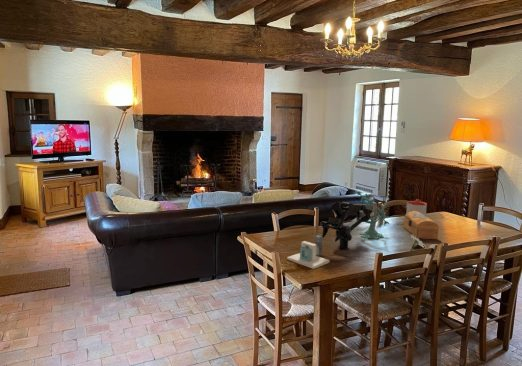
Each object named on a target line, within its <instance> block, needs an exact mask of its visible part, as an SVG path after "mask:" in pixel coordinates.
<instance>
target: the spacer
mask: <svg viewBox="0 0 522 366" xmlns="http://www.w3.org/2000/svg"><path fill="white" fill-rule="evenodd" d="M304 251H306V252H307V257H306V256H304ZM311 252H312V249H309V248H306V247H300V249H299V253H300V259H303V260H306V261H311Z"/></svg>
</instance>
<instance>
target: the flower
mask: <svg viewBox="0 0 522 366" xmlns="http://www.w3.org/2000/svg"><path fill="white" fill-rule="evenodd" d="M409 234H410V237H411V239H412V240H413V241H414V243H413V244H412V246H411V248H412V247H414V246H415V245H419V246H420V247H422V248H424V246H425V244H424V243H423V241H422V240H420V239H419V238H416V236H415V237H414V235H413V234H411V233H409ZM423 245H424V246H423ZM424 249H425V248H424ZM410 251H411V252H412V250H411V249H410V250H409V252H410Z"/></svg>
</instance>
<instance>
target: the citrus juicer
mask: <svg viewBox="0 0 522 366" xmlns="http://www.w3.org/2000/svg"><path fill="white" fill-rule="evenodd" d="M427 205H428V203H427V202H424V201H420V200H419V199H415V200H410V202H408V201H407V202H406V205H405V208H406V212H405V213H406V214H407V213H409V212H411V211H417V212H420V213H422V214H423V215H425V216H427V207H428V206H427ZM406 214H405V215H406Z"/></svg>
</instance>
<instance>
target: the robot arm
mask: <svg viewBox="0 0 522 366" xmlns="http://www.w3.org/2000/svg"><path fill="white" fill-rule="evenodd" d="M365 205H366V204H365ZM365 205H364V204H363V203H362V204H360V203H351V202H346V201H341V202H340V201H336V202H334V203H333V204H331V207H330V209H331V211H332V212H333V214H335V216H334V217H332V216H330V217H328V221H324V220H323V221H321V222H320V226H321V228H322V235H321V236H322V239H323V238H325V237H326V235H327V234H328V232H329V229H332V230H334V231H335V236H336V237H335V240H334V243H336V242H338V241H339V245H337V248H339V250H350V247H349V242H351V240H352V238H353V236H352V235H351V232H352V231H353V230H355V229H356V228H357V227H358V226H359V225H361V224H362V223H366V221H370V217H371V216H372V215H371V213H370V211H369V210H368V208H367V206H366V207H365ZM353 211H356V212H355V213H356V217H355V218H354V219H352V220H351V221H349V223H347V224H346V225H344V221H345V219H346V218H348V217H349V215H348V213H351V212H353ZM347 212H348V213H347Z"/></svg>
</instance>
